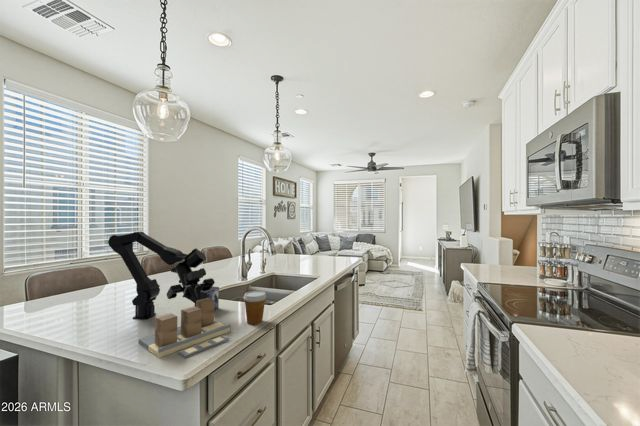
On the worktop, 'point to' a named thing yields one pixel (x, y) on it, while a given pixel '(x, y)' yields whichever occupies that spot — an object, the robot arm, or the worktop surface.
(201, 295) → the small box
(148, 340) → the board
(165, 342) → the slider
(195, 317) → the middle slider
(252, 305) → the disposable coffee cup
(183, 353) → the card
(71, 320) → the worktop surface
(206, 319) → the slider
